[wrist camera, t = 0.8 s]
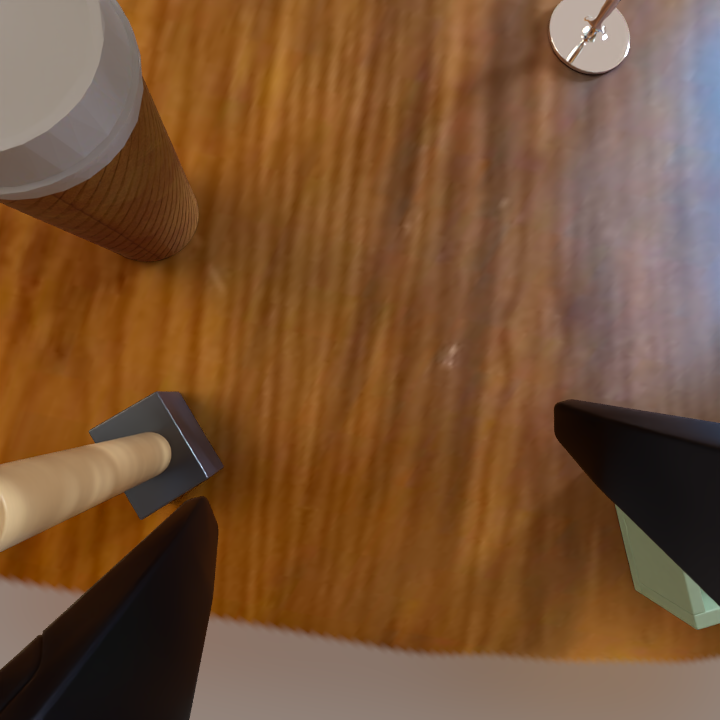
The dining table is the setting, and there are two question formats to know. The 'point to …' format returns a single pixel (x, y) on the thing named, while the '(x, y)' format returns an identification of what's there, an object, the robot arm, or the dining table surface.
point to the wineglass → (589, 35)
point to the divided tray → (665, 578)
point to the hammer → (109, 469)
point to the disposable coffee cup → (87, 130)
